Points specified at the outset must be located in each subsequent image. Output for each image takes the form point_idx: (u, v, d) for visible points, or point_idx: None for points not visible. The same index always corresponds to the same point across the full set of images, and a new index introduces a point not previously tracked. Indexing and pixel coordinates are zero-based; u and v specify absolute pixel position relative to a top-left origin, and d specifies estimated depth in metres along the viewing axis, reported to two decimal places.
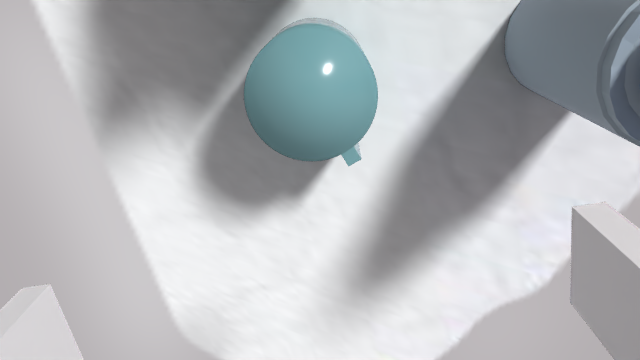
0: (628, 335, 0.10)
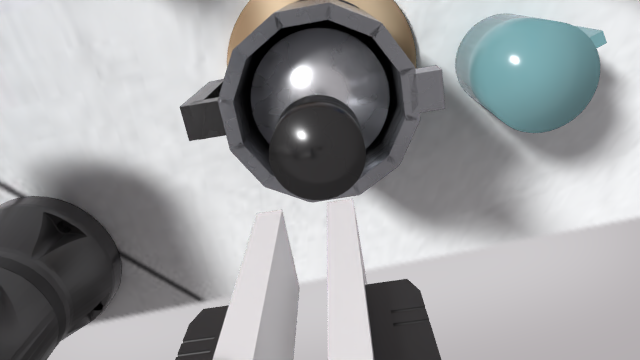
0: None
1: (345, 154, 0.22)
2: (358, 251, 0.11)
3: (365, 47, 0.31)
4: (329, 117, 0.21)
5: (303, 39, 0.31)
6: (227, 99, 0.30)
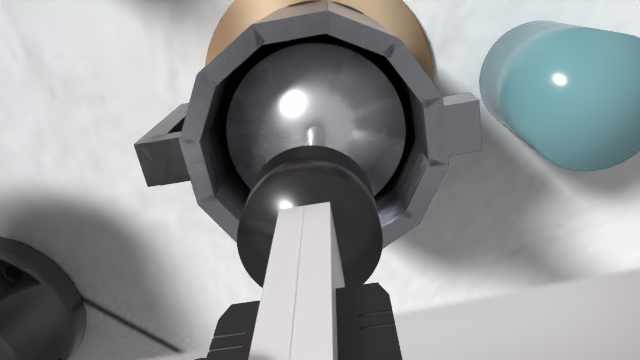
0: None
1: (352, 240, 0.15)
2: (329, 255, 0.11)
3: (375, 68, 0.24)
4: (327, 188, 0.14)
5: (293, 57, 0.24)
6: (192, 139, 0.22)
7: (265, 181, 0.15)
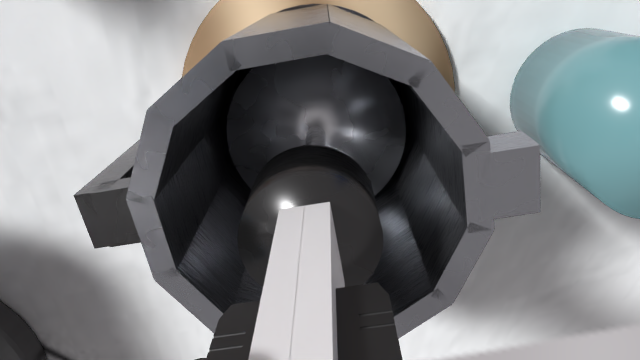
0: None
1: (353, 240, 0.15)
2: (329, 255, 0.11)
3: None
4: (328, 188, 0.14)
5: None
6: (143, 196, 0.16)
7: (266, 181, 0.15)
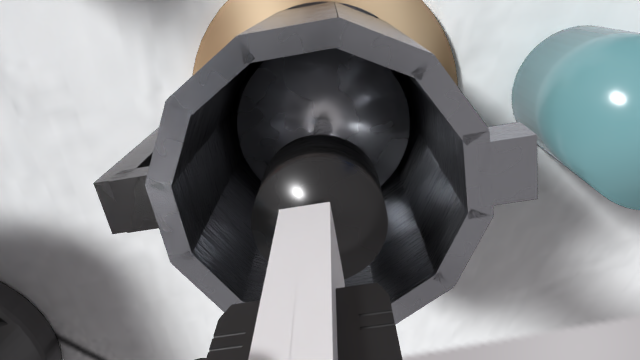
0: None
1: (359, 223, 0.16)
2: (329, 255, 0.11)
3: None
4: (336, 173, 0.15)
5: None
6: (161, 182, 0.17)
7: (277, 167, 0.16)
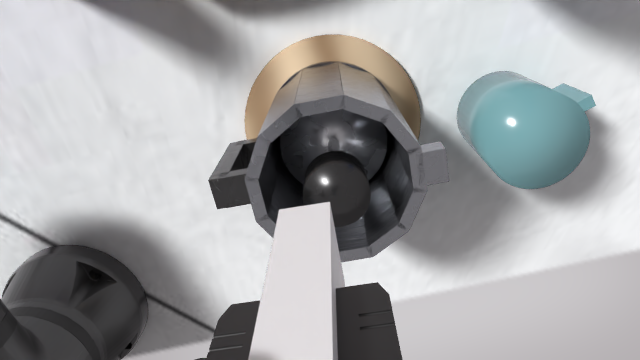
0: None
1: (356, 195, 0.32)
2: (329, 255, 0.11)
3: None
4: (344, 170, 0.31)
5: None
6: (253, 178, 0.33)
7: (315, 168, 0.32)
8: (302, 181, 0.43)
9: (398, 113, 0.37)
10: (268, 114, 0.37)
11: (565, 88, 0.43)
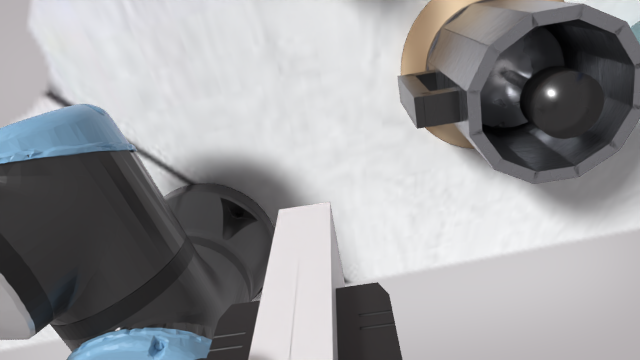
0: None
1: (589, 105, 0.32)
2: (329, 255, 0.11)
3: (550, 34, 0.41)
4: (583, 79, 0.31)
5: None
6: (475, 90, 0.34)
7: (549, 77, 0.32)
8: None
9: None
10: (470, 35, 0.37)
11: None
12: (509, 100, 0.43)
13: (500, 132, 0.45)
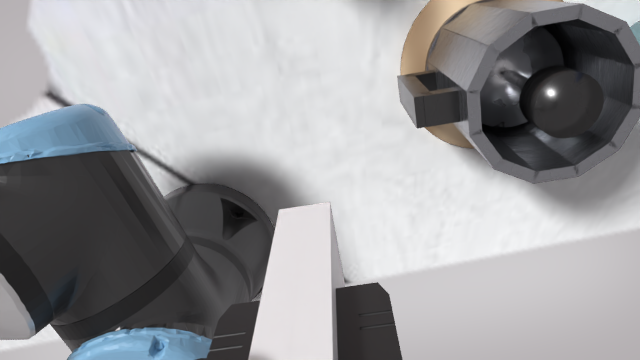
0: None
1: (589, 105, 0.32)
2: (329, 255, 0.11)
3: (550, 34, 0.41)
4: (583, 78, 0.31)
5: None
6: (475, 90, 0.34)
7: (549, 77, 0.32)
8: None
9: None
10: (470, 35, 0.37)
11: None
12: (508, 100, 0.43)
13: (500, 132, 0.45)
